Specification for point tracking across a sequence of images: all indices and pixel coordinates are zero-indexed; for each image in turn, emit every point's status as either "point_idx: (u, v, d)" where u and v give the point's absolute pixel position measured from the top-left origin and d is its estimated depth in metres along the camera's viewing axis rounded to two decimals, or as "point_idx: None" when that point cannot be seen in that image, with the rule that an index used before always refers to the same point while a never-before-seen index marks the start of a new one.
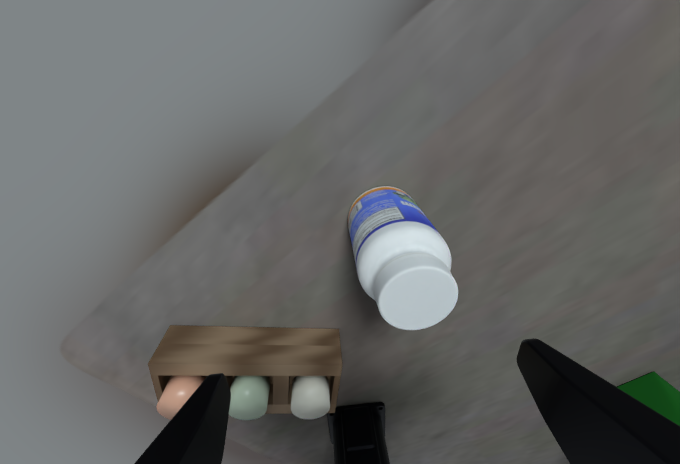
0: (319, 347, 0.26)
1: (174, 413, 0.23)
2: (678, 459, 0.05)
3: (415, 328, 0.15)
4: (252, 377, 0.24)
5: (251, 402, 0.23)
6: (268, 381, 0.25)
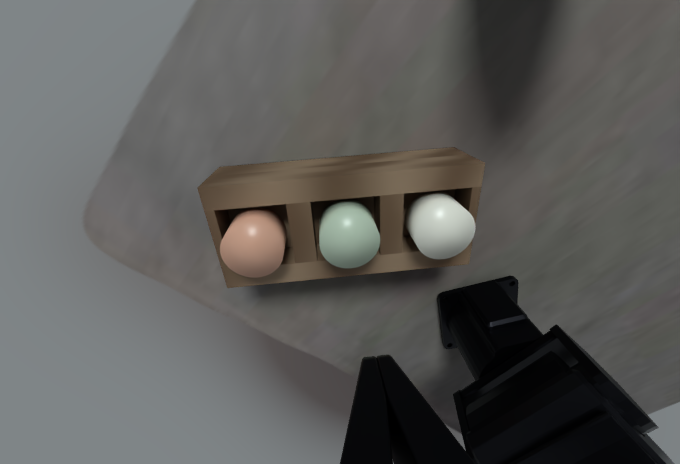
0: (438, 157, 0.17)
1: (246, 262, 0.16)
2: None
3: None
4: (349, 203, 0.16)
5: (357, 229, 0.15)
6: None
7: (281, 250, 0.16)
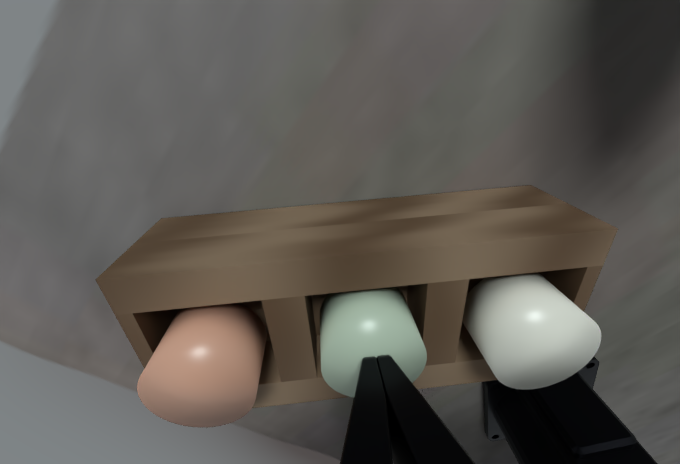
0: (519, 210, 0.10)
1: (190, 408, 0.09)
2: None
3: None
4: None
5: (388, 344, 0.09)
6: None
7: (252, 389, 0.09)
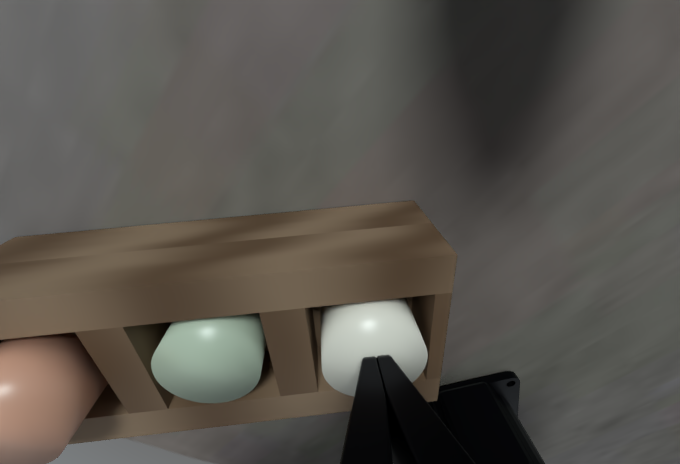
0: (377, 230, 0.10)
1: None
2: None
3: None
4: None
5: (214, 351, 0.09)
6: None
7: (54, 430, 0.08)
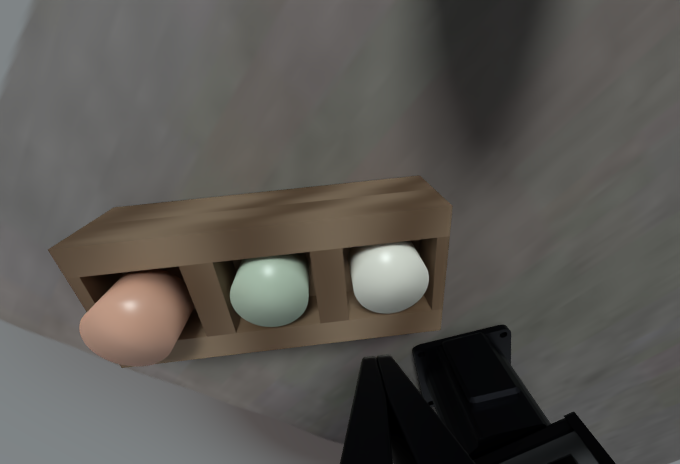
0: (392, 194, 0.13)
1: (123, 349, 0.11)
2: None
3: None
4: None
5: (276, 282, 0.12)
6: (304, 257, 0.14)
7: (169, 333, 0.11)
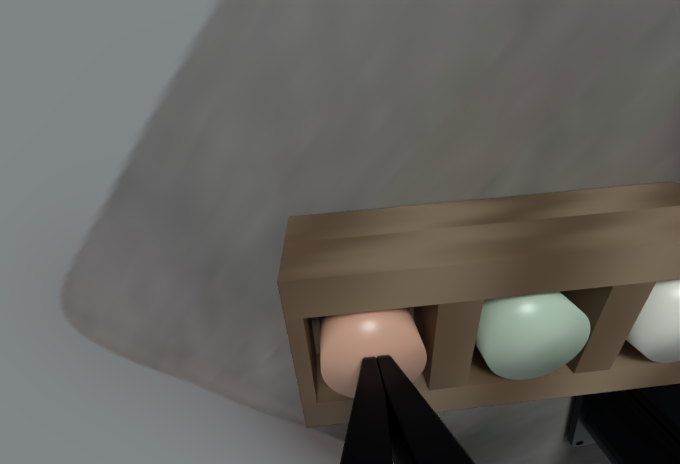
0: None
1: None
2: None
3: None
4: None
5: (557, 325, 0.09)
6: None
7: (423, 361, 0.09)
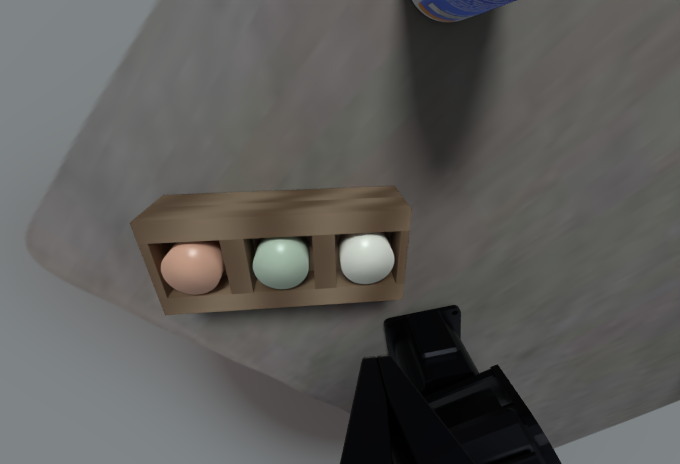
0: (372, 199, 0.18)
1: (186, 281, 0.17)
2: None
3: None
4: None
5: (287, 255, 0.17)
6: (306, 240, 0.19)
7: (218, 271, 0.17)
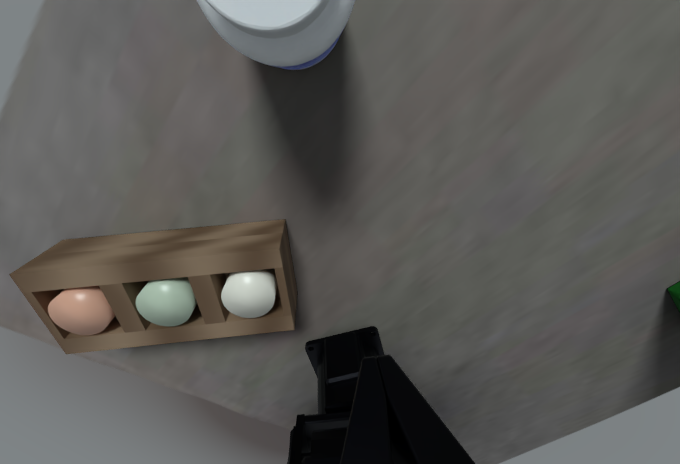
0: (252, 236, 0.19)
1: (76, 323, 0.18)
2: None
3: (280, 22, 0.08)
4: None
5: (166, 296, 0.18)
6: None
7: (104, 313, 0.18)
